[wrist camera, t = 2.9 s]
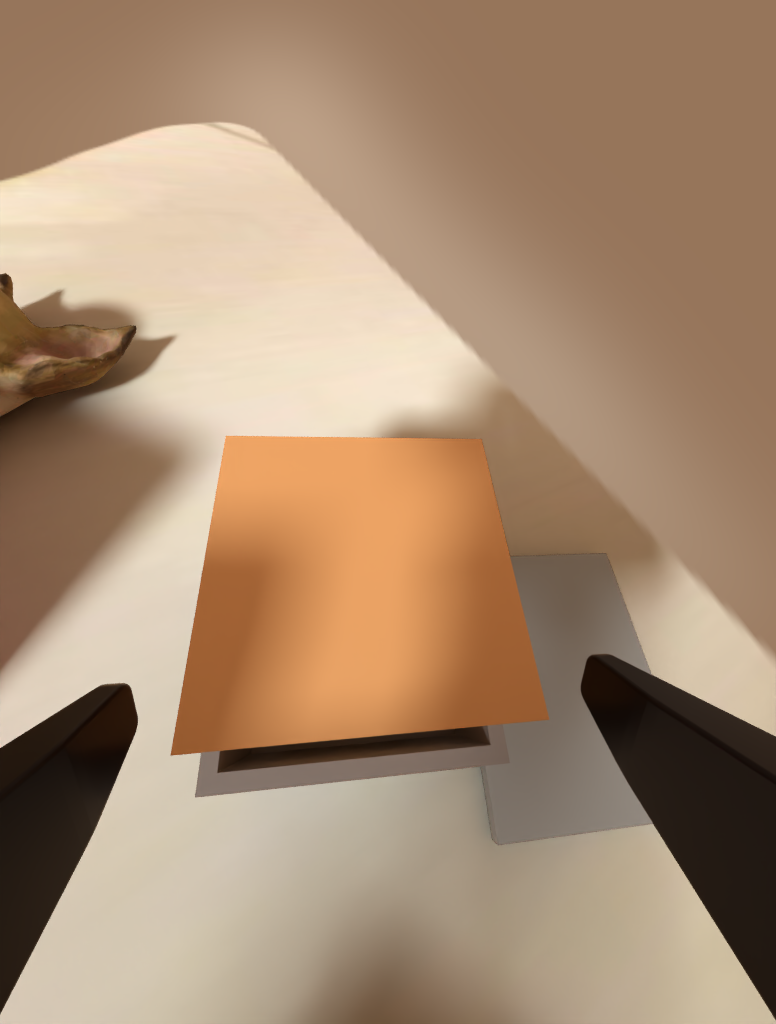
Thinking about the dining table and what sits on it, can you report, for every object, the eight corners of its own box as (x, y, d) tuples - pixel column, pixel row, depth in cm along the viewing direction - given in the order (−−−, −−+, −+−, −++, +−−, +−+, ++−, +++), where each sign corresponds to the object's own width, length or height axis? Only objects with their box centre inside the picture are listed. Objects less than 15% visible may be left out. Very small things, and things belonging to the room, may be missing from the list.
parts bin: (465, 746, 15) (510, 763, 11) (238, 769, 14) (194, 797, 10) (436, 544, 19) (460, 503, 15) (260, 549, 18) (235, 506, 14)
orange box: (428, 708, 15) (549, 719, 6) (279, 721, 14) (170, 755, 5) (412, 565, 18) (479, 432, 9) (288, 570, 17) (227, 428, 8)
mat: (691, 812, 15) (704, 816, 14) (492, 839, 13) (498, 845, 13) (599, 557, 20) (606, 553, 19) (448, 562, 19) (451, 558, 18)
